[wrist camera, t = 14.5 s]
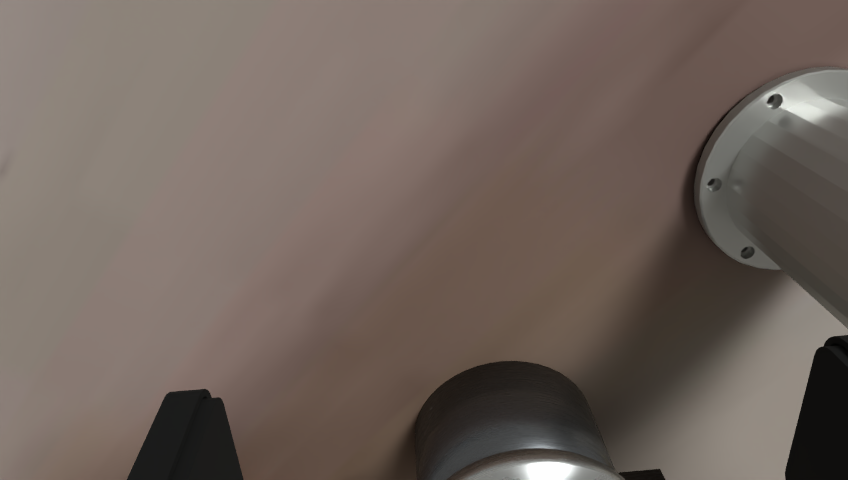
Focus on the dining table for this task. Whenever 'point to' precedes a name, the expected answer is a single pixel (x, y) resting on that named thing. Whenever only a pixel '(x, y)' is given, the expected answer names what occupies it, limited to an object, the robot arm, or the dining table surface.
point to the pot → (506, 420)
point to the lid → (539, 467)
